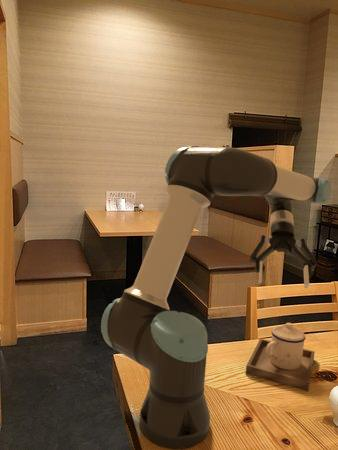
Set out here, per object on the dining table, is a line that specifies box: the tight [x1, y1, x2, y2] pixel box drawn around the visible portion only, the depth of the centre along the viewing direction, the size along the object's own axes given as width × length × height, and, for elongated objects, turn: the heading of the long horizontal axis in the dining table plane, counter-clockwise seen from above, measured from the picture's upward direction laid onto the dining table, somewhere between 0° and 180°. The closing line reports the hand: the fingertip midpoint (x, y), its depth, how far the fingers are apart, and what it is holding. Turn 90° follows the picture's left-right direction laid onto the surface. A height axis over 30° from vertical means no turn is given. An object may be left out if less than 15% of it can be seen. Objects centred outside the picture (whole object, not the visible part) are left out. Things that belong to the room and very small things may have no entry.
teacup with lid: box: [266, 322, 306, 370], centre depth 106 cm, size 12×9×12 cm
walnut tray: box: [245, 338, 316, 392], centre depth 107 cm, size 16×18×2 cm
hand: (283, 283), depth 114 cm, fingers open, 13 cm apart
